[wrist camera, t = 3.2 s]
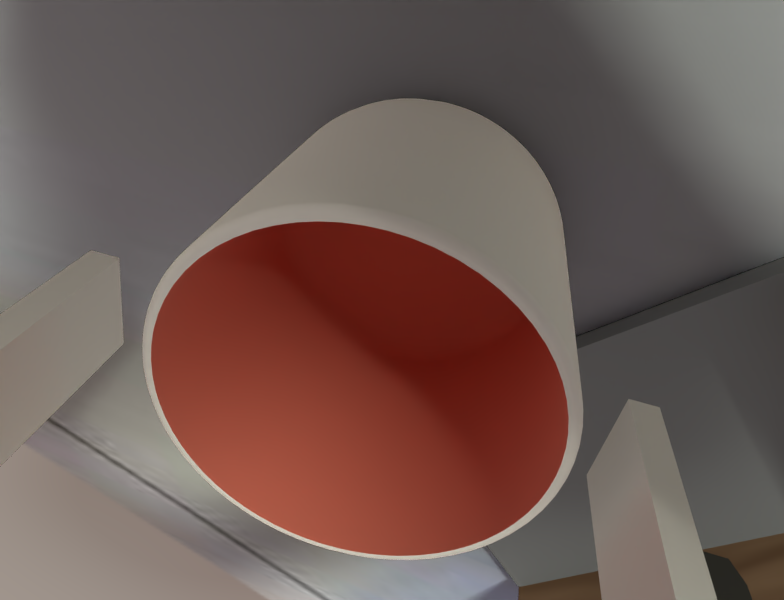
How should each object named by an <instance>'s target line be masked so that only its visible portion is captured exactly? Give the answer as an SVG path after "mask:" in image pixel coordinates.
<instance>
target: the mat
mask: <svg viewBox="0 0 784 600" xmlns="http://www.w3.org/2000/svg"><path fill="white" fill-rule="evenodd" d="M576 346H577V355H578V363H579V372H580V381H581V390H582V400H583V429H582V435H581V441H580V446H579V449H578V453H577V456H576V459H575V462H574V465H573V467H572V469H571V471H570V473H569V475H568V477H567V479H566V481H565V482H564V484H563V485H562V487H561V488H560V490H559V491H558V493H557V494H556V496H555V497H554V498H553V499H552V500H551V502H550V503H549V504H548V505H547V506H546V507H545V508H544V509H543V510H542V511H541V512H540V513H539V514H538V515H537V516H535V517H534V518H533V519H532V520H531V521H529V522H528V523H527V524H525V525H524V526H522V527H521V528H519V529H518V530H516V531H515V532H513V533H512V534H510V535H508V536H506V537H504V538H502V539H500V540H498V541H496V542H494V543H492V544H489V545H486V546H487V547H488V548H489V550H490V551H491V552H492V553H493V555H494V556H495V557H496V559H497V560H498V561H499V562H500V564H501V565H502V566H503V568H504V569H505V570H506V571H507V573H508V574H509V575H510V577H511V578H512V579H513V580H514V582H515V583H516V584H517V586H518V587H522V586H527V585H532V584H536V583H541V582H546V581H551V580H556V579H561V578H566V577H571V576H576V575H581V574H585V573H590V572H595V571H598V565H597V556H596V548H595V540H594V532H593V524H592V516H591V507H590V499H589V491H588V483H587V473H588V472H589V470H590V468H591V466H592V464H593V463H594V461H595V459H596V457H597V455H598V453H599V452H600V450H601V448H602V446H603V444H604V443H605V441H606V439H607V437H608V435H609V433H610V432H611V430H612V428H613V426H614V424H615V423H616V421H617V419H618V417H619V415H620V413H621V412H622V410H623V408H624V406H625V404H626V403H627V401H628V399H631V400H635V401H638V402H642V403H645V404H649V405H653V406H656V407H660V410H661V413H662V416H663V420H664V423H665V426H666V430H667V433H668V436H669V440H670V443H671V447H672V450H673V453H674V457H675V460H676V463H677V467H678V470H679V473H680V477H681V480H682V483H683V487H684V490H685V493H686V497H687V500H688V503H689V507H690V510H691V513H692V517H693V520H694V523H695V527H696V530H697V533H698V537H699V540H700V543H701V547H702V550H703V549H708V548H713V547H718V546H723V545H727V544H732V543H737V542H742V541H747V540H752V539H757V538H762V537H767V536H772V535H776V534H781V533H784V257H783V258H781V259H778V260H775V261H773V262H770V263H768V264H765V265H762V266H760V267H757V268H754V269H752V270H749V271H747V272H744V273H741V274H739V275H736V276H734V277H731V278H728V279H726V280H723V281H721V282H718V283H715V284H713V285H710V286H707V287H705V288H702V289H700V290H697V291H694V292H692V293H689V294H687V295H684V296H681V297H679V298H676V299H674V300H671V301H668V302H666V303H663V304H661V305H658V306H655V307H653V308H650V309H647V310H645V311H642V312H640V313H637V314H634V315H632V316H629V317H627V318H624V319H621V320H619V321H616V322H614V323H611V324H608V325H606V326H603V327H600V328H598V329H595V330H593V331H590V332H587V333H585V334H582V335H580V336H577V337H576Z"/></svg>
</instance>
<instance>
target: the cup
mask: <svg viewBox="0 0 784 600" xmlns="http://www.w3.org/2000/svg"><path fill="white" fill-rule="evenodd" d="M142 357H143V369H144V373H145V378H146V383H147V387H148V390H149V394H150V397H151V400H152V403H153V405H154V407H155V410H156V412H157V414H158V417H159V419H160V421H161V423H162V425H163V426H164V428H165V430H166V432H167V433H168V435H169V437H170V438H171V440H172V441H173V443H174V444H175V446H176V447H177V448H178V450H179V451H180V452H181V454H182V455H183V457H184V458H185V459H186V460H187V461H188V462H189V464H190V465H191V466H192V467H193V468H194V469H195V470H196V471H197V472H198V473H199V474H200V475H201V477H202V478H203V479H204V480H205V481H207V482H208V483H209V484H210V485H211V486H212V487H213V488H214V489H215V490H216V491H218V492H219V493H220V494H221V495H223V496H224V497H225V498H226V499H228V500H229V501H230V502H232V503H233V504H234V505H236V506H237V507H239V508H240V509H241V510H243V511H245V512H246V513H248V514H249V515H251V516H252V517H254V518H256V519H257V520H259V521H261V522H263V523H265V524H266V525H268V526H270V527H272V528H274V529H276V530H278V531H280V532H282V533H284V534H287V535H289V536H291V537H294V538H296V539H299V540H301V541H304V542H307V543H309V544H312V545H315V546H319V547H322V548H325V549H329V550H333V551H337V552H342V553H346V554H350V555H354V556H361V557H368V558H376V559H388V560H419V559H433V558H439V557H445V556H452V555H456V554H460V553H464V552H468V551H472V550H475V549H478V548H481V547H483V546H486V545H489V544H492V543H494V542H496V541H498V540H500V539H502V538H504V537H506V536H508V535H510V534H512V533H513V532H515V531H516V530H518V529H519V528H521V527H522V526H524V525H525V524H527V523H528V522H529V521H531V520H532V519H533V518H534V517H535V516H537V515H538V514H539V513H540V512H541V511H542V510H543V509H544V508H545V507H546V506H547V505H548V504H549V503H550V502H551V500H552V499H553V498H554V497H555V496H556V494H557V493H558V491H559V490H560V488H561V487H562V485H563V484H564V482H565V481H566V479H567V477H568V475H569V473H570V471H571V469H572V467H573V465H574V462H575V459H576V456H577V453H578V449H579V446H580V441H581V435H582V429H583V400H582V390H581V381H580V372H579V363H578V355H577V346H576V337H575V328H574V319H573V310H572V302H571V293H570V284H569V275H568V266H567V257H566V248H565V239H564V230H563V223H562V218H561V213H560V209H559V206H558V202H557V199H556V196H555V194H554V192H553V189H552V187H551V185H550V183H549V181H548V179H547V177H546V176H545V174H544V172H543V171H542V169H541V168H540V166H539V165H538V163H537V162H536V160H535V159H534V158H533V157H532V155H531V154H530V153H529V152H528V151H527V149H526V148H525V147H524V146H523V145H522V144H521V143H520V142H519V141H518V140H517V139H515V138H514V137H513V136H512V135H511V134H509V133H508V132H507V131H506V130H504V129H503V128H501V127H500V126H498V125H497V124H496V123H494V122H492V121H491V120H489V119H487V118H485V117H484V116H482V115H480V114H477V113H475V112H473V111H471V110H468V109H466V108H463V107H460V106H457V105H454V104H450V103H446V102H441V101H433V100H426V99H418V98H401V99H392V100H384V101H379V102H375V103H371V104H367V105H364V106H361V107H359V108H356V109H353V110H350V111H348V112H346V113H344V114H342V115H340V116H338V117H337V118H335V119H333V120H331V121H330V122H328V123H327V124H326V125H324V126H323V127H321V128H320V129H319V130H317V131H316V132H315V133H314V134H313V135H312V136H311V137H310V138H309V139H307V140H306V141H305V142H304V143H303V144H302V145H301V146H300V147H298V148H297V149H296V150H295V151H294V152H293V153H292V154H291V155H290V156H288V157H287V158H286V159H285V160H284V161H283V162H282V163H281V164H280V165H278V166H277V167H276V168H275V169H274V170H273V171H272V172H271V173H269V174H268V175H267V176H266V177H265V178H264V179H263V180H262V181H261V182H259V183H258V184H257V185H256V186H255V187H254V188H253V189H252V190H251V191H249V192H248V193H247V194H246V195H245V196H244V197H243V198H242V199H241V200H240V201H238V202H237V203H236V204H235V205H234V206H233V207H232V208H231V209H230V210H228V211H227V212H226V213H225V214H224V215H223V216H222V217H221V218H220V219H218V220H217V221H216V222H215V223H214V224H213V225H212V226H211V227H210V228H209V229H207V230H206V231H205V232H204V233H203V234H202V235H201V236H200V237H199V238H197V239H196V240H195V241H194V242H193V243H192V244H191V245H190V246H189V247H188V248H187V249H185V250H184V251H183V252H182V253H181V254H180V255H179V256H178V257H177V258H176V260H175V261H174V262H173V263H172V265H171V266H170V267H169V268H168V270H167V271H166V272H165V273H164V275H163V277H162V279H161V280H160V282H159V284H158V286H157V287H156V289H155V291H154V293H153V296H152V299H151V302H150V304H149V307H148V310H147V313H146V318H145V323H144V328H143V340H142Z"/></svg>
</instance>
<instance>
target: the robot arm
mask: <svg viewBox="0 0 784 600" xmlns="http://www.w3.org/2000/svg"><path fill="white" fill-rule="evenodd" d="M123 344H124V336H123V318H122V299H121V280H120V261H119V258H118V257H114V256H111V255H107V254H103V253H100V252H96V251H93V250H91V251H89V252H88V253H86V254H85V255H83V256H82V257H81V258H79V259H78V260H76V261H75V262H73V263H72V264H71V265H69V266H68V267H66V268H65V269H64V270H62V271H61V272H59V273H58V274H56V275H55V276H54V277H52V278H51V279H49V280H48V281H46V282H45V283H44V284H42V285H41V286H39V287H38V288H37V289H35V290H34V291H32V292H31V293H29V294H28V295H27V296H25V297H24V298H22V299H21V300H20V301H18V302H17V303H15V304H14V305H12V306H11V307H10V308H8V309H7V310H5V311H4V312H2V313H1V314H0V466H1V465H2V464H3V463H4V462H5V461H6V460H7V459H8V458H9V457H10V456H11V455H12V454H13V453H14V452H15V451H16V450H17V449H18V448H19V447H20V446H21V445H22V444H23V443H24V442H25V441H26V440H27V439H28V438H29V437H30V436H31V435H32V434H33V433H34V432H35V431H36V430H37V429H38V428H39V427H40V426H41V425H42V424H43V423H44V422H45V421H46V420H47V419H48V418H49V417H50V416H51V415H52V414H53V413H54V412H55V411H56V410H58V409H59V408H60V407H61V406H62V405H63V404H64V403H65V402H66V401H67V400H68V399H69V398H70V397H71V396H72V395H73V394H74V393H75V392H76V391H77V390H78V389H79V388H80V387H81V386H82V385H83V384H84V383H85V382H86V381H87V380H88V379H89V378H90V377H91V376H92V375H93V374H94V373H95V372H96V371H97V370H98V369H99V368H100V367H101V366H102V365H103V364H104V363H105V362H106V361H107V360H108V359H109V358H110V357H111V356H112V355H113V354H114V353H115V352H116V351H117V350H118V349H119V348H120V347H121V346H122V345H123ZM587 483H588V491H589V499H590V507H591V516H592V524H593V532H594V540H595V548H596V556H597V565H598V573H599V581H600V589H601V597H602V600H752V597H751V594H750V592H749V589H748V586H747V584H746V583H745V581H744V580H743V578H742V577H741V576H740V574H739V573H738V571H737V570H736V568H735V567H734V566H733V564H732V563H731V561H730V560H729V559H728V558H725V557H721V556H718V555H714V554H711V553H707V552H704V551H703V550H702V547H701V543H700V540H699V537H698V533H697V530H696V527H695V523H694V520H693V517H692V513H691V510H690V507H689V503H688V500H687V497H686V493H685V490H684V487H683V483H682V480H681V477H680V473H679V470H678V467H677V463H676V460H675V457H674V453H673V450H672V447H671V443H670V440H669V436H668V433H667V430H666V426H665V423H664V420H663V416H662V413H661V410H660V407H656V406H653V405H649V404H645V403H642V402H638V401H635V400H631V399H628V401H627V403H626V404H625V406H624V408H623V410H622V412H621V413H620V415H619V417H618V419H617V421H616V423H615V424H614V426H613V428H612V430H611V432H610V433H609V435H608V437H607V439H606V441H605V443H604V444H603V446H602V448H601V450H600V452H599V453H598V455H597V457H596V459H595V461H594V463H593V464H592V466H591V468H590V470H589V472H588V473H587Z"/></svg>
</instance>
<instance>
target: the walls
mask: <svg viewBox="0 0 784 600" xmlns="http://www.w3.org/2000/svg"><path fill="white" fill-rule="evenodd" d="M703 551H704V552H707V553H711V554H714V555H718V556H721V557H725V558H728V559H729V560H730V561H731V563H732V564H733V566H734V567H735V568H736V570H737V571H738V573H739V574H740V576H741V577H742V578H743V580H744V581H745V583H746V584H747V586H748V589H749V592H750V594H751V597H752V600H784V533H781V534H776V535H772V536H767V537H762V538H757V539H752V540H747V541H742V542H737V543H732V544H727V545H723V546H718V547H713V548H708V549H703ZM518 600H602V597H601V589H600V581H599V573H598V571H595V572H590V573H585V574H581V575H576V576H571V577H566V578H561V579H556V580H551V581H546V582H541V583H536V584H532V585H527V586H522V587H519V598H518Z"/></svg>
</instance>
